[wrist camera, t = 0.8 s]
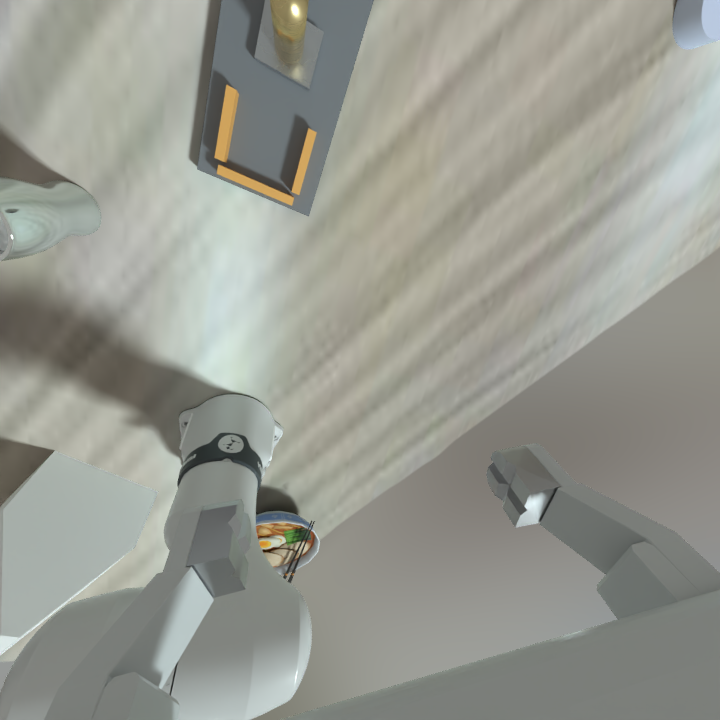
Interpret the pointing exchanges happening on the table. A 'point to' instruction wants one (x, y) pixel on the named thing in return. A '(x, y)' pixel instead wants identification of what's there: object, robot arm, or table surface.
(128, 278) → the table surface
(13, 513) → the milk carton
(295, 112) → the rail board
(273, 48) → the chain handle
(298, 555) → the ramen bowl
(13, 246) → the beer glass
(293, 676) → the robot arm
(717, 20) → the wedge on round base
